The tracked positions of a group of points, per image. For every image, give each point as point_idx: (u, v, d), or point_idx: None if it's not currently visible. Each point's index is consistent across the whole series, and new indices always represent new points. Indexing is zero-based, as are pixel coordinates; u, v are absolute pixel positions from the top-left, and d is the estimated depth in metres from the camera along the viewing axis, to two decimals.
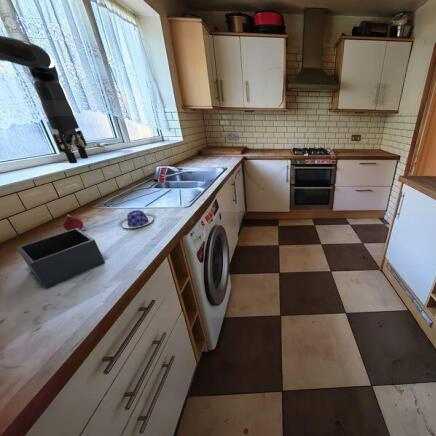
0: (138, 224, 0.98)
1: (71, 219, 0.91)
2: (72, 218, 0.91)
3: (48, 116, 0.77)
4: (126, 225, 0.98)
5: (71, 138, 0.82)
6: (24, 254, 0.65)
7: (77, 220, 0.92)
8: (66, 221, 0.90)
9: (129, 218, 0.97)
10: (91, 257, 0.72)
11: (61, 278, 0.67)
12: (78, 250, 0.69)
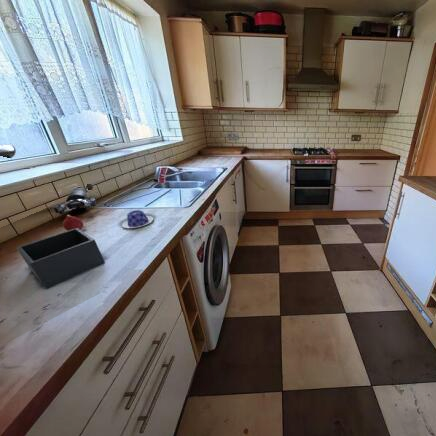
0: (138, 224, 0.98)
1: (71, 219, 0.91)
2: (72, 218, 0.91)
3: None
4: (126, 225, 0.98)
5: None
6: (24, 254, 0.65)
7: (77, 220, 0.92)
8: (66, 221, 0.90)
9: (129, 218, 0.97)
10: (91, 257, 0.72)
11: (61, 278, 0.67)
12: (78, 250, 0.69)
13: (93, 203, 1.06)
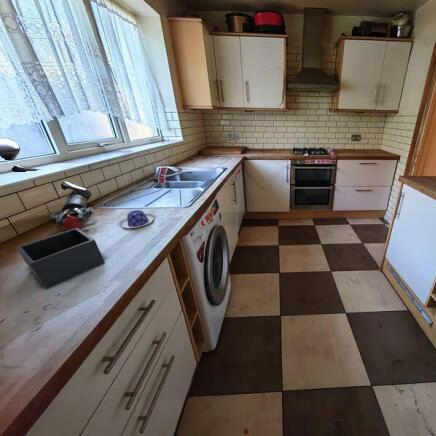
0: (138, 224, 0.98)
1: (71, 219, 0.91)
2: (72, 218, 0.91)
3: None
4: (126, 225, 0.98)
5: None
6: (24, 254, 0.65)
7: (77, 220, 0.92)
8: (66, 221, 0.90)
9: (129, 218, 0.97)
10: (91, 257, 0.72)
11: (61, 278, 0.67)
12: (78, 250, 0.69)
13: (87, 214, 0.95)
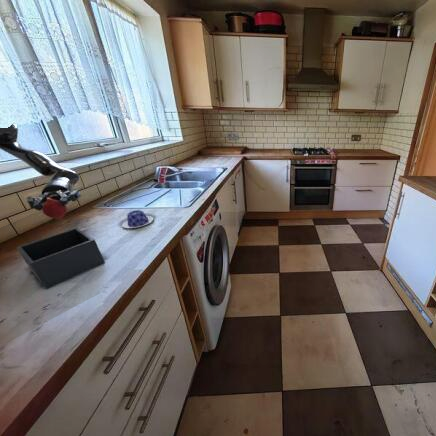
0: (138, 224, 0.98)
1: (52, 202, 0.75)
2: (53, 201, 0.76)
3: None
4: (126, 225, 0.98)
5: None
6: (24, 254, 0.65)
7: (59, 204, 0.77)
8: (46, 205, 0.75)
9: (129, 218, 0.97)
10: (91, 257, 0.72)
11: (61, 278, 0.67)
12: (78, 250, 0.69)
13: (71, 197, 0.80)
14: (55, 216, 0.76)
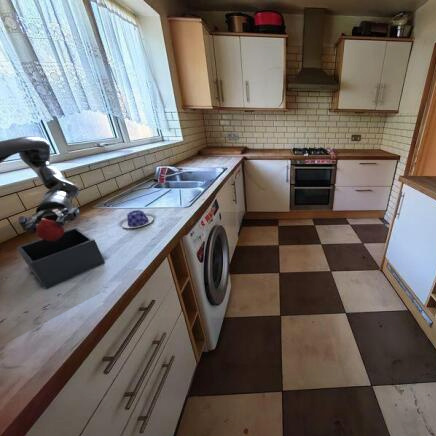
0: (138, 224, 0.98)
1: (47, 223, 0.66)
2: (48, 222, 0.67)
3: None
4: (126, 225, 0.98)
5: None
6: (24, 254, 0.65)
7: (55, 225, 0.68)
8: (40, 227, 0.65)
9: (129, 218, 0.97)
10: (91, 257, 0.72)
11: (61, 278, 0.67)
12: (78, 250, 0.69)
13: (69, 217, 0.71)
14: (51, 239, 0.67)
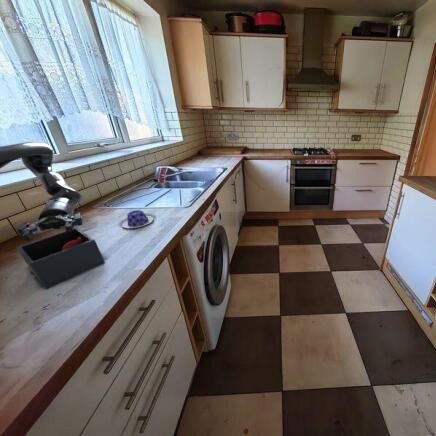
0: (138, 224, 0.98)
1: (80, 241, 0.75)
2: (81, 241, 0.76)
3: None
4: (126, 225, 0.98)
5: None
6: (24, 254, 0.65)
7: None
8: (72, 241, 0.74)
9: (129, 218, 0.97)
10: (91, 257, 0.72)
11: (61, 278, 0.67)
12: (78, 250, 0.69)
13: (78, 221, 0.73)
14: None
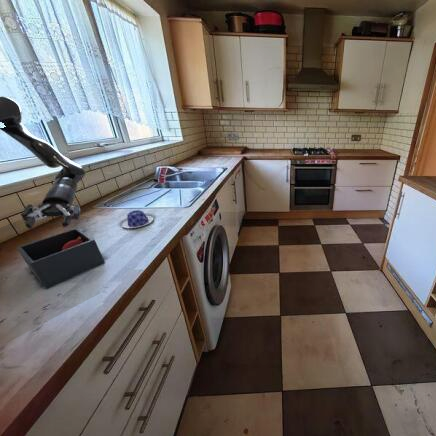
0: (138, 224, 0.98)
1: (80, 241, 0.75)
2: (81, 241, 0.76)
3: None
4: (126, 225, 0.98)
5: None
6: (24, 254, 0.65)
7: None
8: (72, 241, 0.74)
9: (129, 218, 0.97)
10: (91, 257, 0.72)
11: (61, 278, 0.67)
12: (78, 250, 0.69)
13: (75, 216, 0.83)
14: None
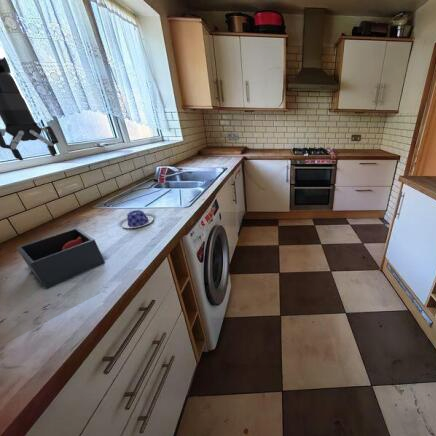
0: (138, 224, 0.98)
1: (80, 241, 0.75)
2: (81, 241, 0.76)
3: None
4: (126, 225, 0.98)
5: (17, 134, 0.76)
6: (24, 254, 0.65)
7: None
8: (72, 241, 0.74)
9: (129, 218, 0.97)
10: (91, 257, 0.72)
11: (61, 278, 0.67)
12: (78, 250, 0.69)
13: None
14: None
